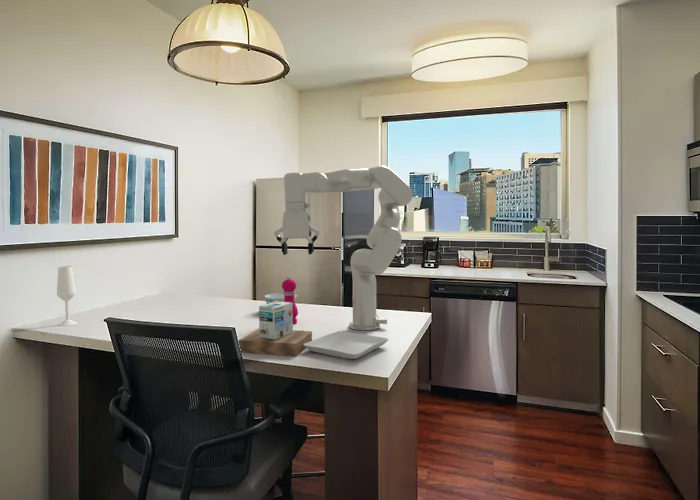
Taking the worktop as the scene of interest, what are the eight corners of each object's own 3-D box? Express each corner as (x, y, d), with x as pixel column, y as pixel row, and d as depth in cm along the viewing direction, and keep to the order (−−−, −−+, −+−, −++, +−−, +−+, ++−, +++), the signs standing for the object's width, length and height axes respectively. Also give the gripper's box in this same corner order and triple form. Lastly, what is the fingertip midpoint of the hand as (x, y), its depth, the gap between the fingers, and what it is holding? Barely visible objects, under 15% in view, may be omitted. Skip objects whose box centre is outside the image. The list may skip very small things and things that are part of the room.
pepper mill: (294, 325, 179) (294, 277, 178) (278, 324, 181) (277, 276, 179) (300, 321, 186) (300, 274, 185) (284, 320, 188) (283, 274, 187)
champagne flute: (71, 321, 187) (69, 265, 186) (80, 323, 184) (78, 266, 182) (54, 324, 181) (52, 267, 180) (63, 326, 178) (60, 268, 176)
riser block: (311, 342, 154) (311, 331, 154) (296, 356, 139) (296, 343, 139) (259, 339, 159) (259, 328, 158) (238, 352, 143) (238, 340, 143)
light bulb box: (274, 340, 143) (274, 307, 142) (258, 337, 146) (258, 305, 145) (293, 332, 152) (293, 302, 151) (277, 330, 155) (277, 300, 154)
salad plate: (301, 353, 143) (301, 343, 143) (338, 339, 160) (338, 329, 160) (356, 365, 131) (356, 354, 131) (389, 348, 149) (389, 338, 149)
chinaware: (258, 312, 205) (257, 296, 204) (280, 307, 217) (280, 291, 217) (281, 316, 196) (281, 299, 196) (303, 310, 209) (303, 294, 208)
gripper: (321, 206, 161) (323, 252, 162) (276, 208, 164) (278, 253, 166) (316, 206, 154) (318, 254, 155) (269, 208, 157) (271, 255, 158)
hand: (297, 254), depth 160 cm, fingers open, 9 cm apart
